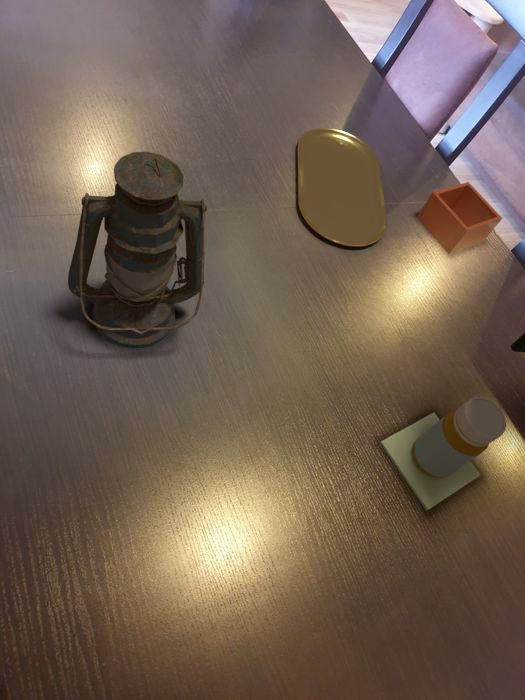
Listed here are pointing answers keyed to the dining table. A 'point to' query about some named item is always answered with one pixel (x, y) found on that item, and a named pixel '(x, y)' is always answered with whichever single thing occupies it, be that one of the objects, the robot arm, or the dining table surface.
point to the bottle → (459, 437)
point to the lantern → (140, 252)
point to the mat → (421, 483)
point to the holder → (447, 223)
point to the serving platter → (340, 188)
